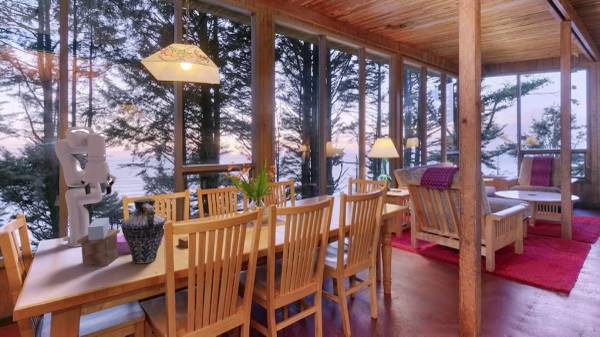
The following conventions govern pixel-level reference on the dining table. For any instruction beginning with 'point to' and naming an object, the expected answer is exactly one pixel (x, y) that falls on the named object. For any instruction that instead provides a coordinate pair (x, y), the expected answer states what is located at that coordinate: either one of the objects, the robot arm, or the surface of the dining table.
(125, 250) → the pink rectangular box
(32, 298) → the dining table surface
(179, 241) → the carton
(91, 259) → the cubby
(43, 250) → the dining table surface
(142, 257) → the jug
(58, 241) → the dining table surface
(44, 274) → the dining table surface
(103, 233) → the block
